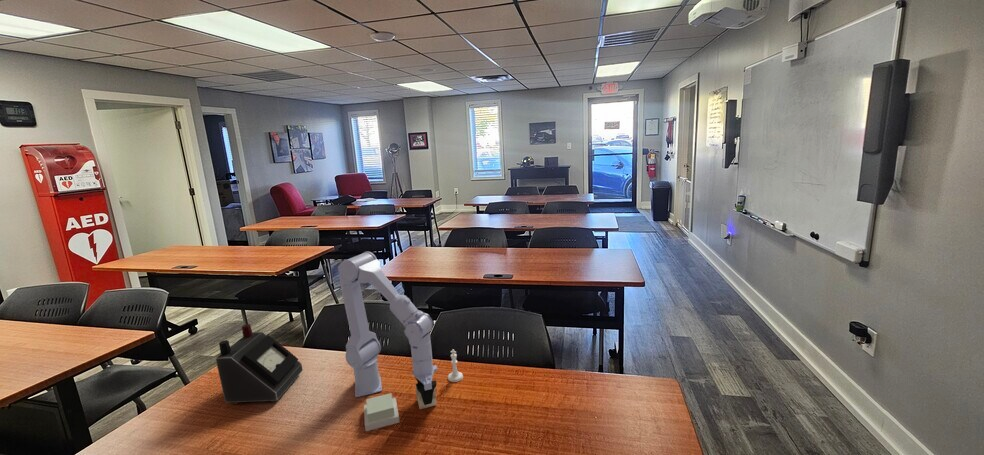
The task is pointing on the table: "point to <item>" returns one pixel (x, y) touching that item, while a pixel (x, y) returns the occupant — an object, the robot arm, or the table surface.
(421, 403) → the maple cube
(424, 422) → the table surface
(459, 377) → the chess piece
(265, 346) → the voltmeter
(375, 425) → the tower base
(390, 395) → the tower top
